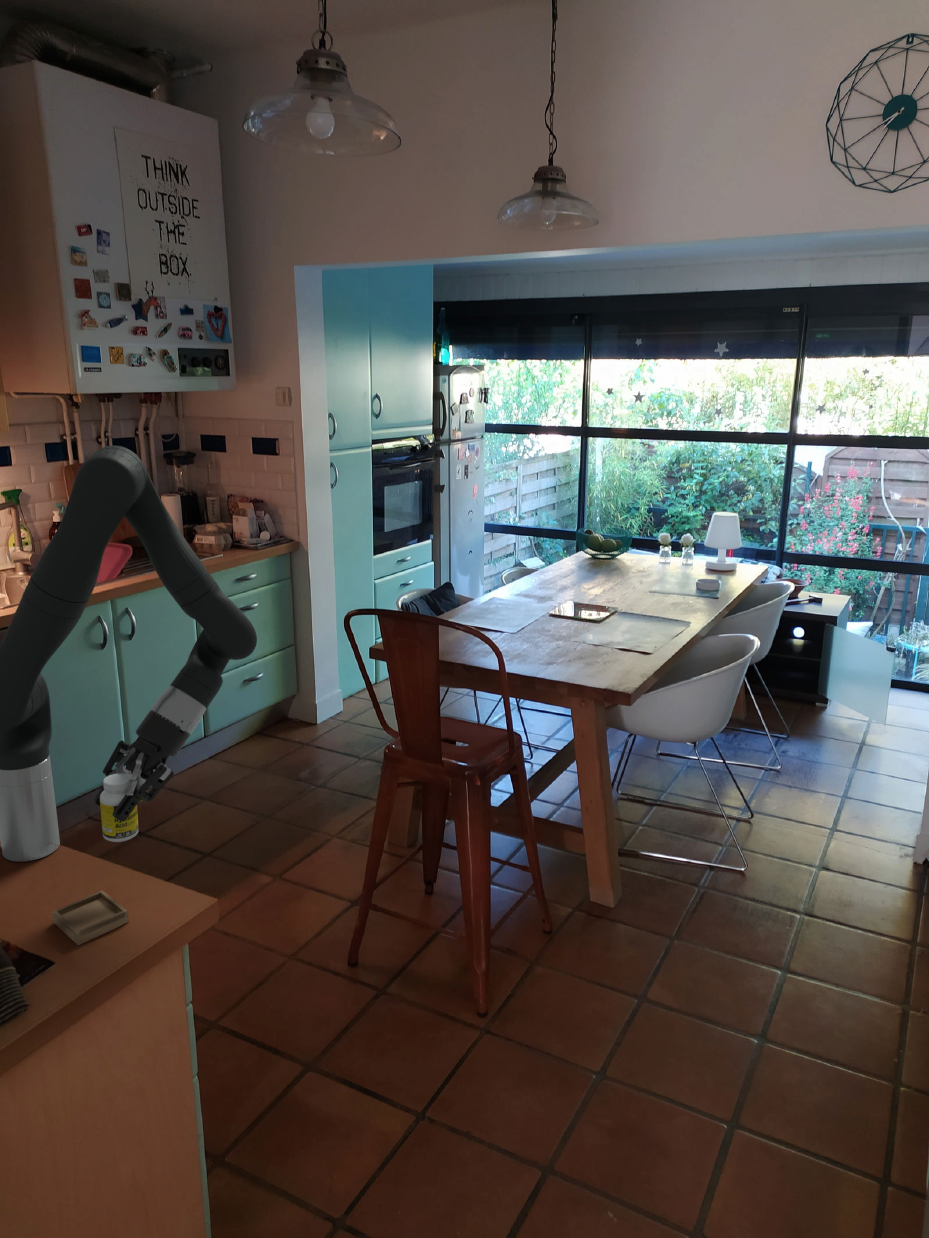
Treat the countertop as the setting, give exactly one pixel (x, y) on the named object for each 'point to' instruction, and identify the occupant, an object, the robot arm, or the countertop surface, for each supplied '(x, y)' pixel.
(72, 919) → the wooden tray
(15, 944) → the countertop surface
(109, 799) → the supplement bottle
